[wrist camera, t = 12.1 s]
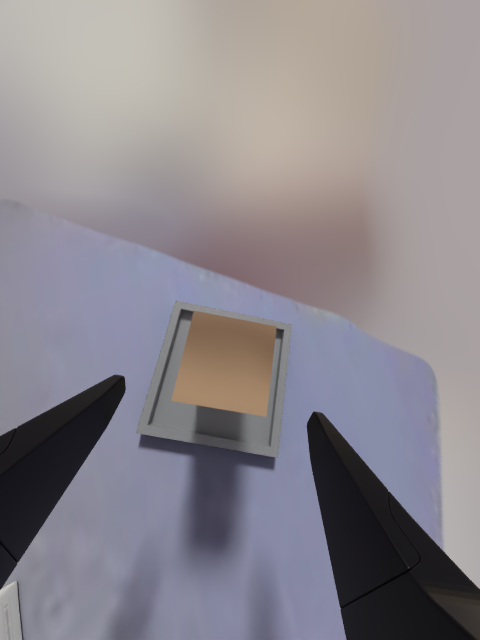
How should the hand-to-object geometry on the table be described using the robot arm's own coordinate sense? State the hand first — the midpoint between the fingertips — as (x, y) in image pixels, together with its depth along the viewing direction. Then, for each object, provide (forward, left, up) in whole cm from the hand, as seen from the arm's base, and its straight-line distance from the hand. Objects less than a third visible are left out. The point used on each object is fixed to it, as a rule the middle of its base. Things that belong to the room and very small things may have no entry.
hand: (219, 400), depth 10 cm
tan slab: (+2, 0, -13) cm, 13 cm away
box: (+2, 0, -13) cm, 13 cm away
